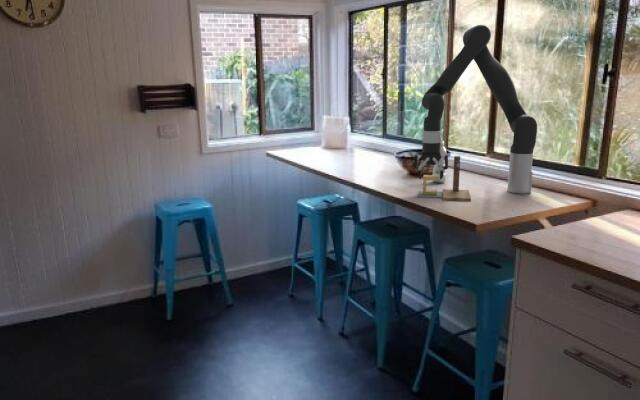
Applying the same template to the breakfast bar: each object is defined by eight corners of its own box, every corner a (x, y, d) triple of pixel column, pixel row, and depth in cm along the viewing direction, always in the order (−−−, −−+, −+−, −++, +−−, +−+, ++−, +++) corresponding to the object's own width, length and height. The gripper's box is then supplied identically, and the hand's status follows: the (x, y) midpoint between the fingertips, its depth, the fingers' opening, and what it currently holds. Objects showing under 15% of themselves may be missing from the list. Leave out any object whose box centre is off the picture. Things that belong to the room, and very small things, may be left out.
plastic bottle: (436, 184, 238) (437, 142, 233) (429, 181, 245) (430, 140, 240) (448, 183, 240) (450, 141, 235) (441, 180, 246) (442, 139, 241)
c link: (437, 193, 221) (437, 175, 219) (437, 195, 217) (437, 177, 215) (423, 192, 222) (423, 174, 220) (422, 194, 218) (423, 176, 216)
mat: (441, 192, 223) (441, 191, 223) (441, 198, 214) (441, 197, 214) (418, 191, 225) (418, 190, 225) (417, 197, 216) (417, 196, 216)
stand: (468, 192, 222) (470, 156, 218) (470, 201, 208) (472, 162, 204) (442, 191, 224) (444, 155, 220) (443, 200, 210) (444, 162, 206)
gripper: (448, 140, 216) (447, 177, 220) (414, 139, 219) (413, 176, 223) (449, 142, 209) (447, 181, 213) (414, 142, 212) (413, 180, 216)
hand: (430, 178), depth 218 cm, fingers open, 8 cm apart
